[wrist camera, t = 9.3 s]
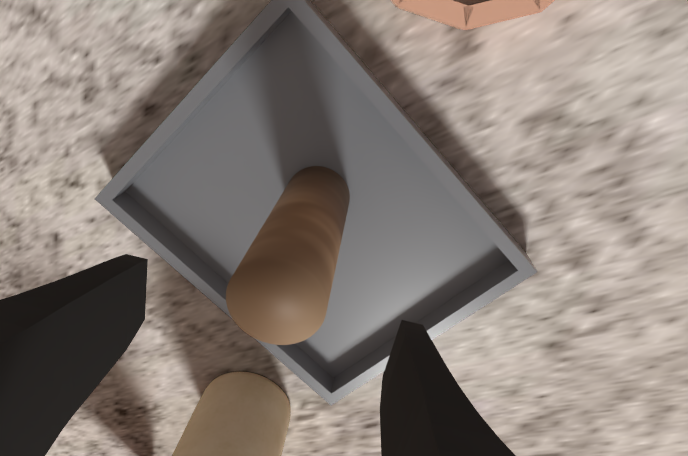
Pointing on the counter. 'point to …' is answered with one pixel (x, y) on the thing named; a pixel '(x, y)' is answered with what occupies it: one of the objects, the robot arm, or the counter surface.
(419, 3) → the ring
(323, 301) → the dowel
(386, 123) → the tray
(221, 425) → the candle
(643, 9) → the counter surface
